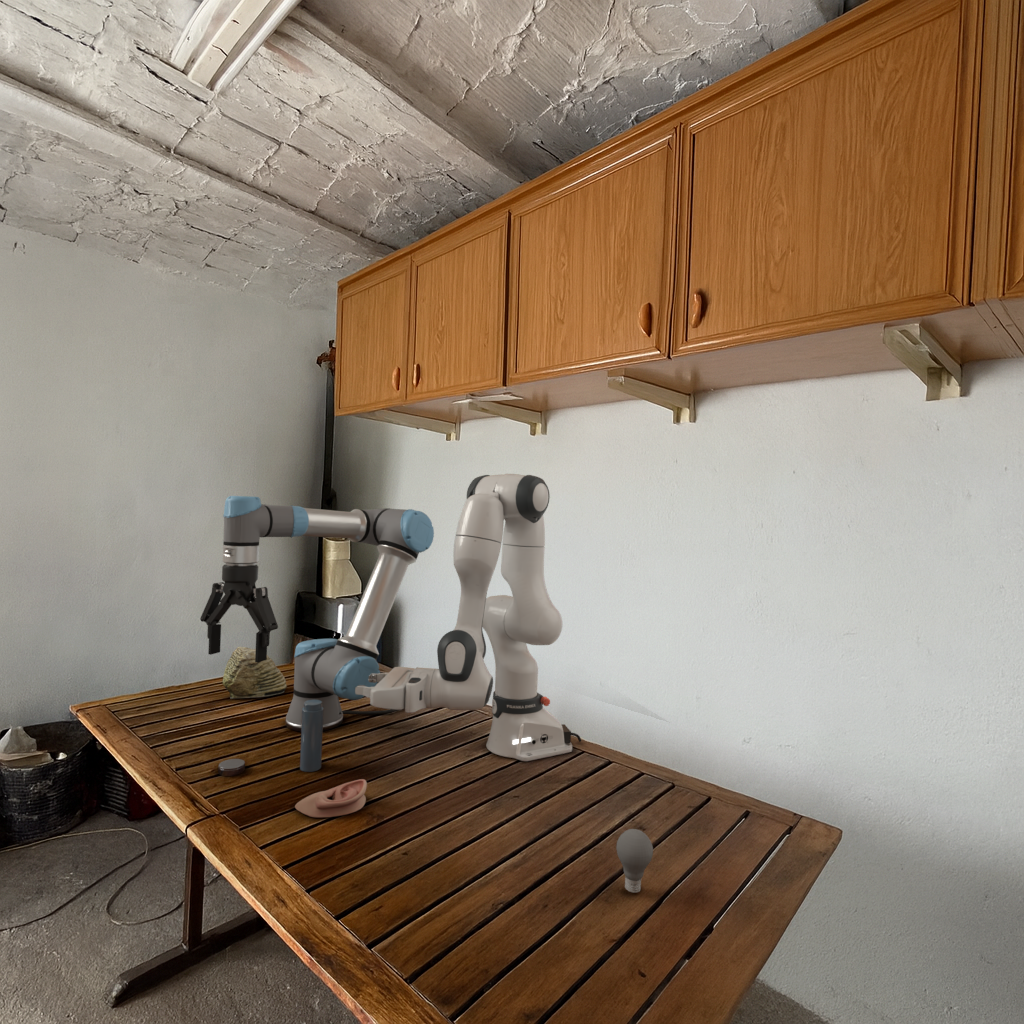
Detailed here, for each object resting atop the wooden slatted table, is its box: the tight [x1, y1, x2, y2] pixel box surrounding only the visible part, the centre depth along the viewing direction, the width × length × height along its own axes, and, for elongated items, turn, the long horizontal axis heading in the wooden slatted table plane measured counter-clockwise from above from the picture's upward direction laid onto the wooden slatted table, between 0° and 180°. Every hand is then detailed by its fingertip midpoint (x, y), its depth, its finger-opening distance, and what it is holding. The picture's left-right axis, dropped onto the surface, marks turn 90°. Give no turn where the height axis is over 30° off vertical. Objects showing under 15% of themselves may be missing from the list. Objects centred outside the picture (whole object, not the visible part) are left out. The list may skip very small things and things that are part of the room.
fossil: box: [222, 646, 288, 699], centre depth 198 cm, size 9×18×15 cm, turn 132°
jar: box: [299, 700, 324, 773], centre depth 148 cm, size 5×5×15 cm
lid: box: [217, 758, 246, 777], centre depth 144 cm, size 6×6×2 cm
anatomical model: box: [294, 778, 368, 819], centre depth 130 cm, size 13×4×12 cm
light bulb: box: [615, 828, 654, 894], centre depth 106 cm, size 6×6×10 cm
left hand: (237, 657), depth 144 cm, fingers open, 13 cm apart
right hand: (362, 683), depth 146 cm, fingers open, 8 cm apart
